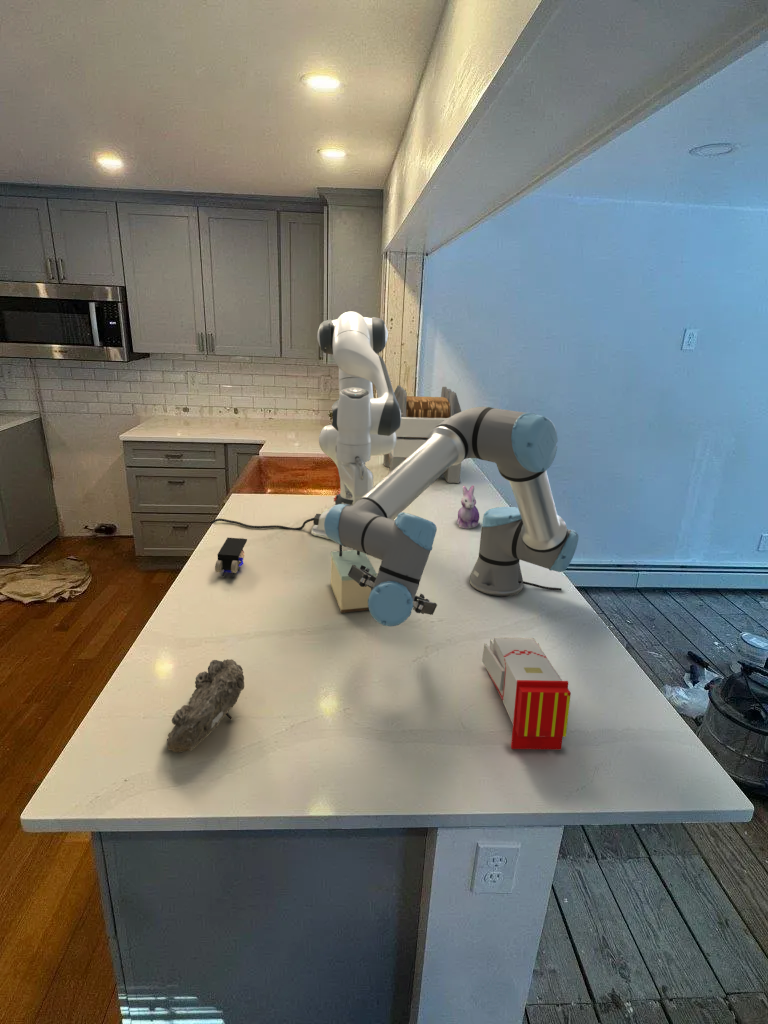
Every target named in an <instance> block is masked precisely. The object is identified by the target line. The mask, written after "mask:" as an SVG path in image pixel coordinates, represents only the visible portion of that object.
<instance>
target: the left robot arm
mask: <svg viewBox="0 0 768 1024" xmlns="http://www.w3.org/2000/svg"><path fill="white" fill-rule="evenodd" d="M318 327H319V328H318V330H317V336H316V337H317V343H318V346H319V348H320V350H321V351H322V352H323V353H324V354H327V355H333V361H334V363H335V365H336V366H337V368H338V393H339V394H338V395H339V396H338V399H337V400H336V401H335V402H333V404H332V405H331V411H332V423H331V424H328V425H325V426H324V427H322V429H321V430H320V432H319V435H318V444H319V447H320V450H321V451H322V452H323V454H325V455H326V456H327V457H329V458H330V459H331V460H332V462H333V463H334V464H335V466H336V467H337V471H338V477H339V483H340V484H339V485H340V488H339V489H340V490H339V491H338V492H337V494H336V495H335V496H334V497H333V502H334V504H333V505H331V506H329V507H328V508H326V509H325V510H323V512H321V513H315V515H314V517H312V518H309V519H306V520H305V521H304V522H303V523H302V525H301V526H299V527H289V526H284V525H279V524H277V525H276V524H275V525H273V524H271V525H250V524H246V523H242V522H241V521H236V520H231V519H226V518H214V519H213V520H212V521H211V522H210V524H214V523H216V522H225V523H230V524H235V525H239V526H242V527H245V528H250V529H283V530H293V531H301V530H303V529H304V527H305V526H306V524H308V523H310V522H312V521H313V524H312V525H313V526H312V528H311V530H310V533H311V536H315V537H319V538H323V539H326V540H330V539H329V538H328V536H327V535H326V533H325V529H324V522H325V518H326V515H327V513H328V512H329V510H330V509H331V508H332V507H333V506H335V505H338V504H345V505H346V504H348V505H350V506H352V505H354V504H355V503H356V502H357V501H358V500H360V499H361V498H362V497H363V496H364V495H365V494H366V493H367V492H369V491H370V490H371V489H372V488H373V487H374V474H373V472H372V471H371V469H369V468H368V467H367V466H366V463H367V462H369V461H371V457H380V456H384V454H388V453H391V452H392V451H393V449H394V448H395V445H396V440H397V438H396V433H395V431H397V430H398V429H399V427H400V423H401V411H400V407H399V404H398V402H397V400H396V398H395V395H394V392H395V391H394V389H393V385H392V381H391V378H390V375H389V372H388V369H387V366H386V363H385V361H384V359H383V357H382V356H380V355H379V354H380V353H381V352H383V350H384V349H385V347H386V345H387V342H388V339H389V331H388V328H387V325H386V323H385V321H384V320H383V318H380V317H375V316H372V317H366V316H363V315H362V314H360V313H359V312H357V311H346V312H343V313H342V314H340V315H339V316H338V318H337V319H332V318H330V319H326V320H324V321H322V322H321V323H320V324H319V325H318ZM373 386H374V387H375V390H376V394H377V397H374V390H373Z"/></svg>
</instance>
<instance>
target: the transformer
mask: <svg viewBox="0 0 768 1024" xmlns="http://www.w3.org/2000/svg"><path fill="white" fill-rule="evenodd" d="M393 392H394V395H395V398H396V400H397V402H398V404H399V407H400V411H401V423H400V427H399V429H398V430H397V431H395V433H396V438H397V440H396V445H395V448H394V449H393V451H392V452H391V453H388V454H384V455H383V466H384V467H388V468H389V473H390V472H392V471H393V470H394V469H395V468H396V467H397V466H398V465H400V464H401V463H402V462H403V461H404V460H405V459H406V458H408V457H409V456H410V455H411V454H412V453H413V452H415V451H416V450H417V449H418V448H419V447H420V446H421V445H423V444H424V443H425V442H426V441H427V440H428V436H429V433H430V432H431V431H432V430H433V429H434V428H435V427H436V426H438V425H439V424H440V423H442V422H443V421H444V420H446V419H448V418H449V417H451V416H453V415H455V414H457V413H459V412H462V408H461V405H460V402H459V398H458V395H457V392H455V391H453V390H452V389H451V388H447V386H442V387H441V392H440V393H441V394H440V396H415V395H414V396H413V395H412V396H411V395H407V394H408V393H407V390H406V389H404V388H403V387H402V385H399V384H398V385H397V386H396V388H395V390H394V391H393ZM461 472H462V462H461V463H460V464H458V465H454V466H450V467H449V468H448V469H447V470H446V471H445V472H444V473H443V474H442V475H443V478H444V479H445V481H446V482H447V483H449V484H455V483H456V484H459V483H461Z"/></svg>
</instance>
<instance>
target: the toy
mask: <svg viewBox="0 0 768 1024" xmlns="http://www.w3.org/2000/svg"><path fill="white" fill-rule="evenodd" d="M481 662H482V664H483V665H484V667H485V670H486V671H487V673H488V675H489V677H490V679H491V681H492V683H493V685H494V687H495V688H496V691H497V692H498V694H499V697H500V698H501V701H502V703H503V705H504V708H505V710H506V712H507V715H508V717H509V719H510V722H511V723H512V731H511V732H512V733H511V744H510V749H511V750H552V751H553V750H556V751H557V750H561V751H562V746H563V738H566V737H567V730H568V723H569V712H570V703H571V696H572V695H571V694H572V693H571V691H570V690H569V681H568V680H563V679H562V678H561V676H560V675H559V673H558V672H557V670H556V669H555V667H554V666H553V665H552V663H551V661H550V660H549V658H548V657H547V655H546V654H545V652H544V650H543V649H542V647H541V645H540V643H539V642H537V641H536V639H535V638H534V637H503V636H502V637H497V636H496V637H495V636H494V637H493V638H490V640H489V644H488V643H484V644H483V651H482V659H481Z"/></svg>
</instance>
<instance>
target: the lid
mask: <svg viewBox="0 0 768 1024" xmlns="http://www.w3.org/2000/svg"><path fill="white" fill-rule="evenodd" d="M338 546H339V547H338V551H337V550H335V551H331V552H330V558H331V557H332V559H333V562H334V564H335V566H336V569H337V571H338V573H339V576H340V578H341V580H342V581H347V580H353V579H352V578H351V577H349V576H348V573H349V571H350V569H351V567H352V565H355V566H356V567H358V568H359V569H360V567H361V565H363V566H365V567H366V568H365V569H367V568H368V569H370V570H369V573H370V574H372V575H374V576H375V577H377V574H378V572H377V571H376V569H375V568H374V566H373V564H372V563H371V561H370V559H369V557H368V555H367V554H365V553H362V552H360V551H357V550H354V549H352V550H351V549H349V550H343V546H342V545H340V544H338Z"/></svg>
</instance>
